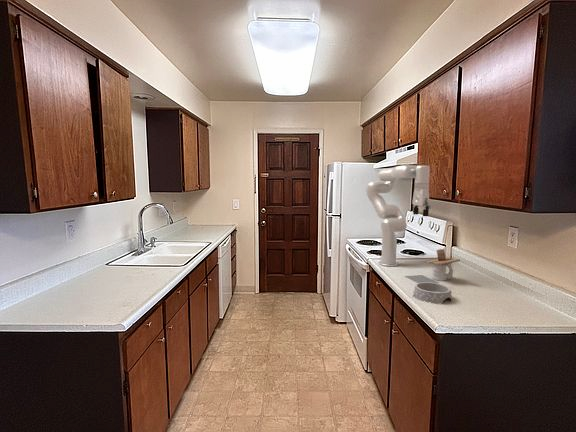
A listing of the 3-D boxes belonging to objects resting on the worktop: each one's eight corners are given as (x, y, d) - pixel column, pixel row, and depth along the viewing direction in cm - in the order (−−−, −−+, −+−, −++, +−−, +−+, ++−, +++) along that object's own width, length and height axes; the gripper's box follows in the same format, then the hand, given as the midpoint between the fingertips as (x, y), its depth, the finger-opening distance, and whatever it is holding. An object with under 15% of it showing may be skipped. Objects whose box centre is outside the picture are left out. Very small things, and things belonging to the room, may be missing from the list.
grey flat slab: (404, 277, 201) (404, 276, 201) (422, 276, 204) (422, 274, 204) (420, 286, 186) (420, 284, 186) (439, 284, 189) (439, 283, 188)
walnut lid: (425, 262, 201) (423, 251, 201) (443, 258, 203) (441, 246, 203) (441, 265, 187) (439, 253, 187) (460, 260, 190) (457, 248, 189)
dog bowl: (459, 299, 167) (460, 289, 166) (434, 306, 158) (435, 295, 157) (429, 289, 181) (430, 279, 181) (405, 295, 173) (405, 284, 172)
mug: (429, 278, 200) (430, 258, 198) (448, 278, 200) (449, 258, 199) (435, 282, 192) (436, 261, 191) (455, 282, 193) (457, 261, 192)
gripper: (407, 186, 210) (406, 213, 212) (425, 187, 193) (423, 217, 195) (418, 186, 212) (417, 213, 214) (436, 186, 195) (435, 216, 197)
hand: (420, 215), depth 204 cm, fingers open, 9 cm apart
